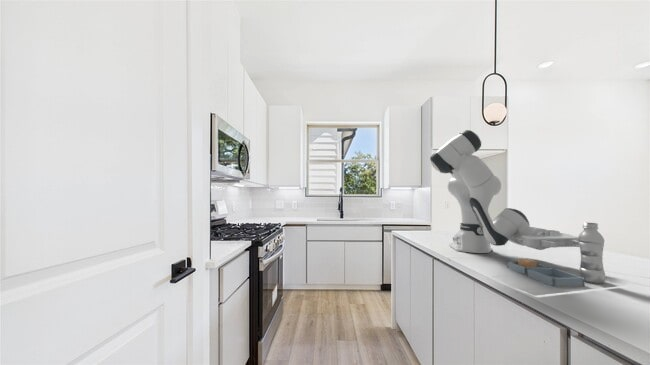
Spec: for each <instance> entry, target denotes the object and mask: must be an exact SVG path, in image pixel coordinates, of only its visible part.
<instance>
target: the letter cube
mask: <svg viewBox="0 0 650 365" xmlns="http://www.w3.org/2000/svg"><path fill="white" fill-rule="evenodd" d="M517 261H518V265H520V266H523V267H537V262H538V261H536V260H534V259H530V258H518V260H517Z"/></svg>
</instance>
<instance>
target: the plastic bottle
mask: <svg viewBox="0 0 650 365" xmlns="http://www.w3.org/2000/svg"><path fill="white" fill-rule="evenodd" d="M582 229H583V230H582V231H581V232H580V233H579V234H578V236H577V237H578V241H579V246H580V247H579V250H580V251H579V252H580V265H579V266H580V267H579V270H578V276H580V277H583V278H584V283H585V282H586V283H589V284H596V285H603V284H604V283H605V282H606V278H607V276H606V273H605V270H604V263H603V256H604V254H603V253H604V247H605V246H604V245H605V238H604V236H603V235H602V234H601V233H600V232H599V231H598V230H599V224H598V223H596V222H582Z"/></svg>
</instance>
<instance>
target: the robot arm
mask: <svg viewBox="0 0 650 365" xmlns="http://www.w3.org/2000/svg"><path fill="white" fill-rule="evenodd" d="M481 147H482V140H481V138H480V137H479V135H478V134H477V133H475V132H474V131H472V130H469V129H466V130H463V131H462V132H459V134H457V135H455V136H453V137H452V138H450V139H449V140H448V141H447V142H446V143H444V144H443V145H442V146H441V147H440V148H438V149H437V150H436V151H434V152H433V153H432V154H431V156H430V158H429V161H430V163H431V166H432V167H433V168H434V169H435V170H436V171H437V172H439V173H440V174H450V175H451V176H452V177H451V178H450V179H449V180H448V182H447V189H448V192H449V193H450V194H451V195H452V196H453V197H454V198H455V199H456V200H457V202H458V204H459V206H460V207H459V208H460V210H461V222H460V223H459V229H460V230H458V231H457V232H456V233H455V234H454V235H453V236H452V241H453V242H452V243H448V246H449V247H450V248H452V249H453V250H455V251H457V252H464V253H471V254H489V253H491V251H492V252H493V251H494V250H493V247H491V245H492V246H497V247H498V246H499V247H500V246H505V245H506V244H507V243H508V241H509V242H511V243H513V244H516V245H519V246H524V247H527V248H529V249H535V250H539V251H542V250H546V249H551V248H552V249H553V248H554V249H556V248H575V247H576V248H580V246H579V241H578V237H579V236H577V235H573V234H569V233H568V234H567V233H562V232H560V231H559V230H551V229H546V228H541V227H540V228H539V227H534V226H530V225H531V224H530V221H529V220H528V218H527V216H526V215H525V214H524V213H523V212H522V211H521V210H518V209H516V208H510V207H508V208H503V210H502V211H501V212H500V213H498V214H497V215H496V217H494V219H492V218H491V216H490V213H489V207H490V203H491V202H492V200H493V198H494V196H496V195H498V194H499V193H500V191H501V189H502V182H501V181H500V179H499V177H497V176H496V175H495V174H494V172H493V171H492V170H491V169H490V167H489V166H488V165H487V164H486V163H485V162H484V161H483V160H482V159H481V158H479V156H477V155H475V154H474V153H477V151H479V150H480V148H481Z"/></svg>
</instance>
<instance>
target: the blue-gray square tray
mask: <svg viewBox="0 0 650 365" xmlns="http://www.w3.org/2000/svg"><path fill="white" fill-rule="evenodd" d="M506 264H507V266H506V267H507V269H510V270H512V271H514V272H517V273H519V274H523V275H525V276H527V271H526V269H542V268H550V267H549V266H547V265H543V264H540V263H537V267H523V266H520V265H518V260H513V261H511V260H509V261H507V263H506Z"/></svg>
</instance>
